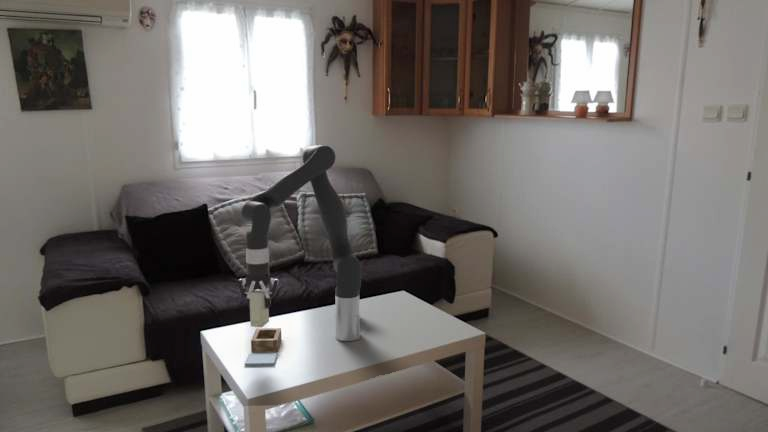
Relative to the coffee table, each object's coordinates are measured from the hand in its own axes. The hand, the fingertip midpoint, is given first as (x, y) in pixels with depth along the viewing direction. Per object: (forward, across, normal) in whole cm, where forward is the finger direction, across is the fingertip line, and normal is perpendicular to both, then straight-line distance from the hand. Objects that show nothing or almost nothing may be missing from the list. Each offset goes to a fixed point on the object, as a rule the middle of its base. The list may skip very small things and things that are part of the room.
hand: (259, 307), depth 193 cm
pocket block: (+19, 0, -13) cm, 23 cm away
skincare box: (+6, 0, 0) cm, 6 cm away
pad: (+19, 0, 0) cm, 19 cm away
